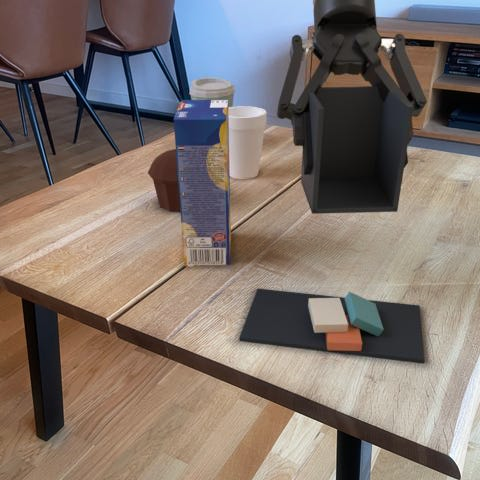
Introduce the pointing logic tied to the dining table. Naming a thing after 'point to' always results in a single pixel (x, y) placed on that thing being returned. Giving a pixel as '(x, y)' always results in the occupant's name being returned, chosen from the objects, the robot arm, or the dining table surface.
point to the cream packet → (327, 315)
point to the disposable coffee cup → (212, 90)
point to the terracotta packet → (345, 339)
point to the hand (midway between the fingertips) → (355, 168)
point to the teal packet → (363, 314)
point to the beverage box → (204, 180)
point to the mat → (302, 333)
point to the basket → (356, 150)
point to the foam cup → (245, 140)
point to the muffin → (166, 180)
